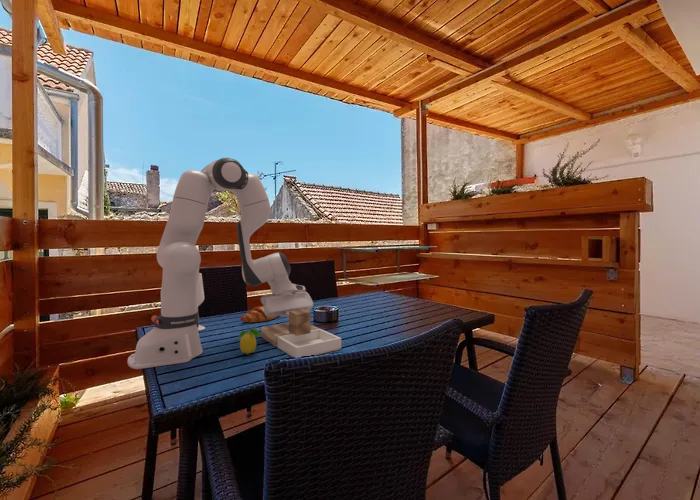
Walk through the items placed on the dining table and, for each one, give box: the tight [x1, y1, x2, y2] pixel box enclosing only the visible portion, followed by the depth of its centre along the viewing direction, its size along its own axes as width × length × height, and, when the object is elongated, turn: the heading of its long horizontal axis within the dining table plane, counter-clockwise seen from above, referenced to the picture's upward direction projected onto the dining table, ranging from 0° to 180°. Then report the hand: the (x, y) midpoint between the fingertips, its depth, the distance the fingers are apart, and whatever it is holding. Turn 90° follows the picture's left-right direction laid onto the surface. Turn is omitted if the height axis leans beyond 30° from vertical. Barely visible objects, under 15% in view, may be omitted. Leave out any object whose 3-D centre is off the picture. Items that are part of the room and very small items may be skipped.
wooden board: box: [260, 322, 319, 347], centre depth 139 cm, size 18×14×4 cm
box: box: [277, 328, 342, 358], centre depth 127 cm, size 18×15×4 cm
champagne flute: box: [197, 272, 206, 331], centre depth 151 cm, size 7×7×24 cm
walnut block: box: [288, 309, 312, 336], centre depth 132 cm, size 6×6×8 cm
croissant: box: [240, 306, 281, 324], centre depth 167 cm, size 21×10×8 cm, turn 135°
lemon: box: [237, 325, 261, 356], centre depth 120 cm, size 7×6×10 cm
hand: (295, 321), depth 135 cm, fingers closed
